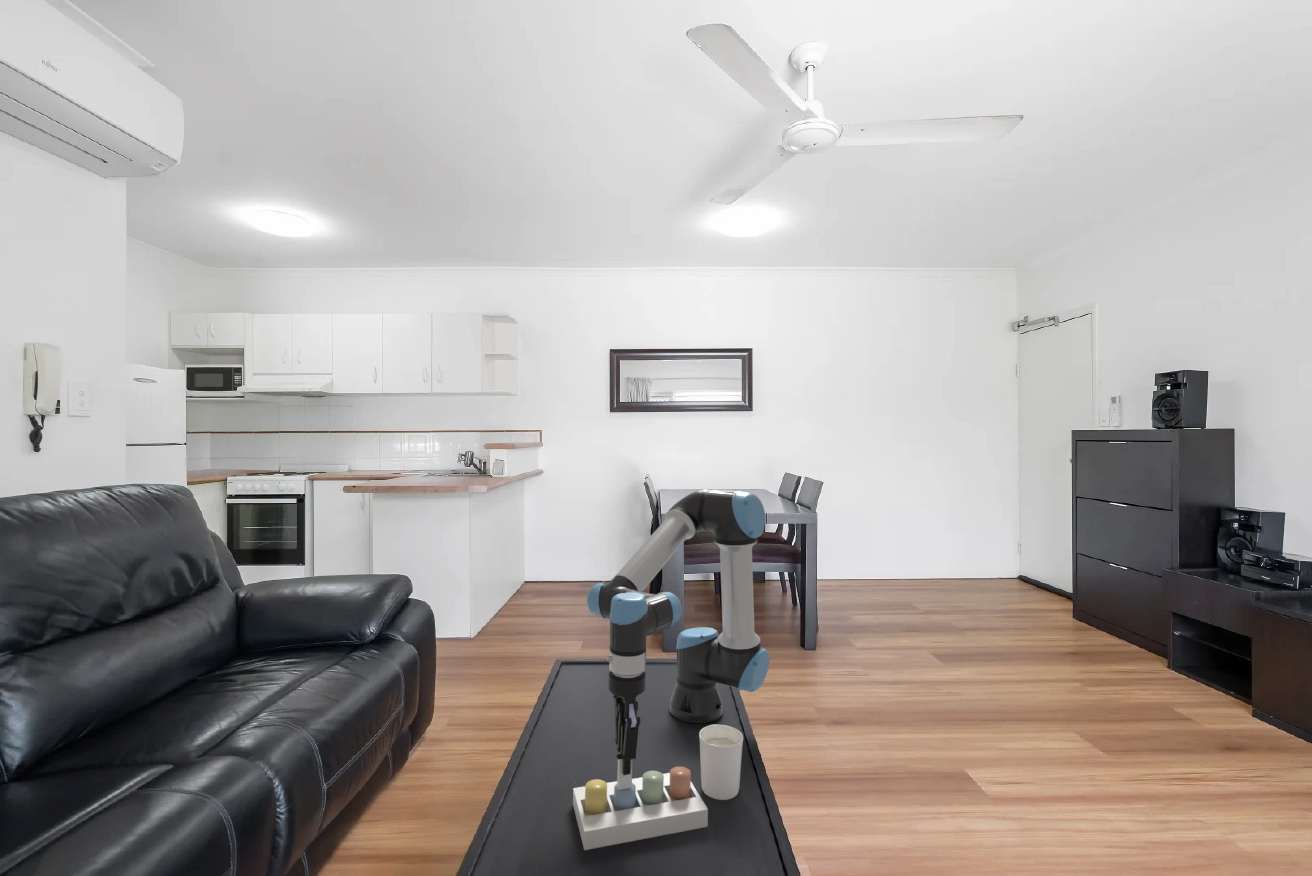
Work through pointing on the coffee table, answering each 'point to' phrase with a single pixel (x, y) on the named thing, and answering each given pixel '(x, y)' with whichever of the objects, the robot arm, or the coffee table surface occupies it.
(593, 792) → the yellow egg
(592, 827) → the white slotted tray
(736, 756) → the candle holder
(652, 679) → the coffee table surface
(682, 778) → the orange rounded piece
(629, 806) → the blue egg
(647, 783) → the pale green rounded piece
